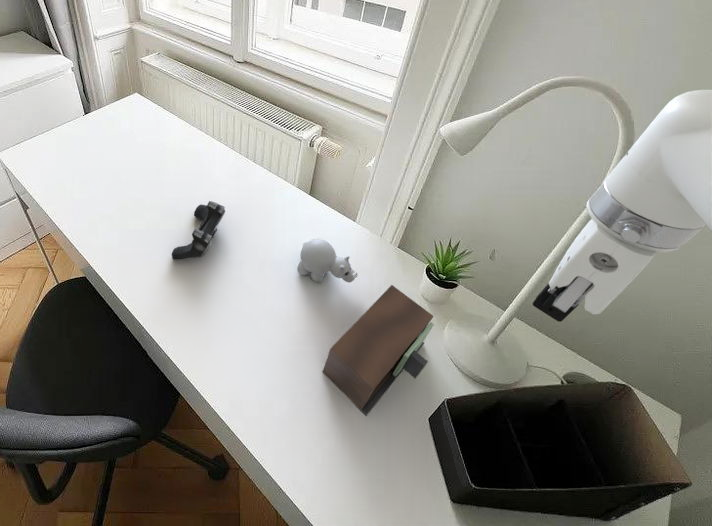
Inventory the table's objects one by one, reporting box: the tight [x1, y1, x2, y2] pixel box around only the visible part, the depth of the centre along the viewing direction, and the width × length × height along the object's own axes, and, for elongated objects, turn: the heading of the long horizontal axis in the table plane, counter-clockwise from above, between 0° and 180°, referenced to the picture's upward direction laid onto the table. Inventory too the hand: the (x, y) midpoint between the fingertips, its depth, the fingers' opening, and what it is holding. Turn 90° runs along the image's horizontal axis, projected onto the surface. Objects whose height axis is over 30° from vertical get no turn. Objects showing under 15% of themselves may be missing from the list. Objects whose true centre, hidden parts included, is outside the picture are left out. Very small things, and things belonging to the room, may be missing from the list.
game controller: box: [171, 200, 226, 261], centre depth 93 cm, size 16×7×10 cm, turn 159°
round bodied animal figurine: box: [296, 238, 358, 283], centre depth 84 cm, size 7×12×8 cm, turn 54°
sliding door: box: [393, 322, 435, 380], centre depth 69 cm, size 3×8×8 cm, turn 129°
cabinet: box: [322, 284, 434, 417], centre depth 71 cm, size 9×18×9 cm, turn 130°
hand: (547, 309), depth 51 cm, fingers closed
